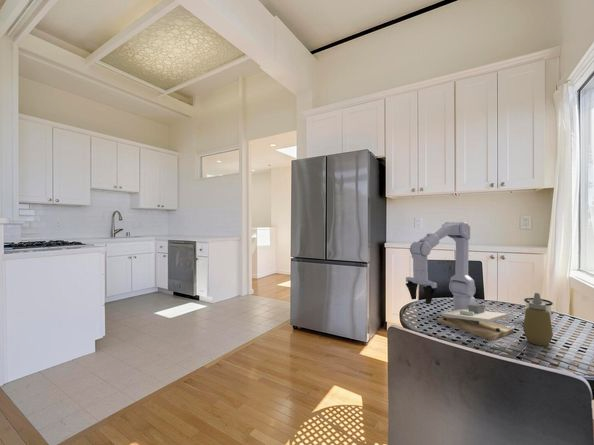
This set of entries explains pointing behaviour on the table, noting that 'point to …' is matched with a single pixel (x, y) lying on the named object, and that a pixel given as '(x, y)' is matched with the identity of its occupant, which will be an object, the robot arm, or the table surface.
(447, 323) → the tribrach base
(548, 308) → the mug
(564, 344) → the table surface
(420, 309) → the table surface
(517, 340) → the table surface
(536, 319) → the squeeze bottle
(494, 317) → the level plate
